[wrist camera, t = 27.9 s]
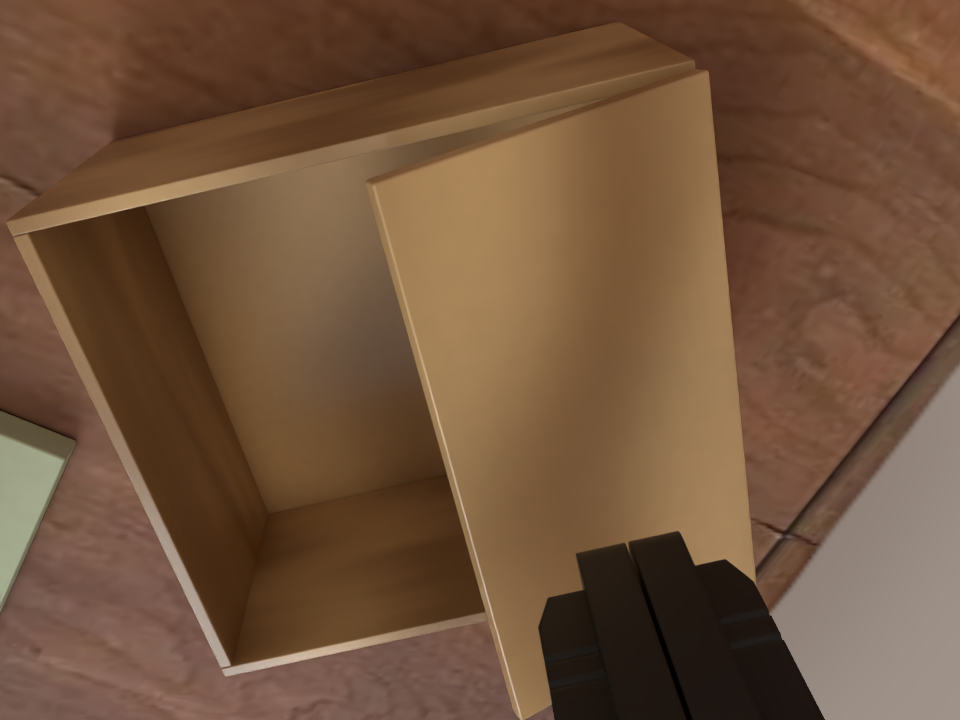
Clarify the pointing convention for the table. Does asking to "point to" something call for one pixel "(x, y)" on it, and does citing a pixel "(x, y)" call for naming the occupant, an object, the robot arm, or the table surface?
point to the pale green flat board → (25, 488)
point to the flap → (574, 346)
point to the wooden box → (290, 341)
